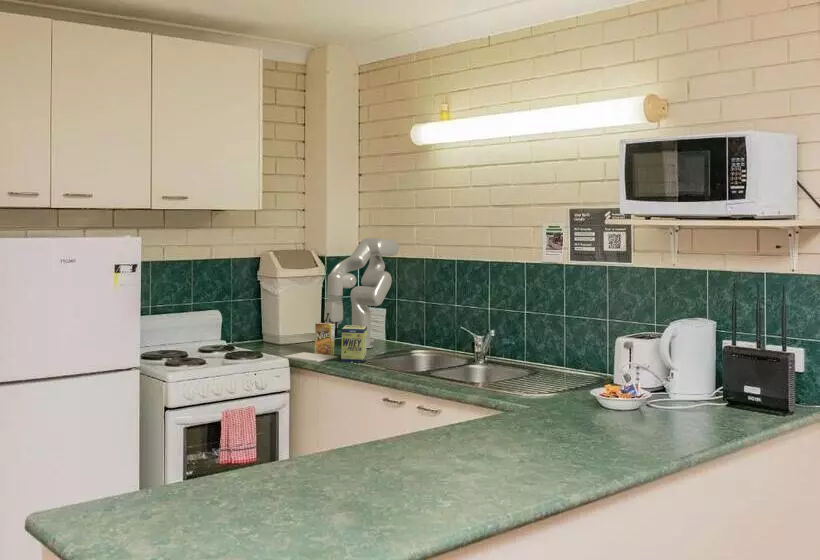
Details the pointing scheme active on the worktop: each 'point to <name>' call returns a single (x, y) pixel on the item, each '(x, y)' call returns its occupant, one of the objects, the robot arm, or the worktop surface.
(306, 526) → the worktop surface
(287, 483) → the worktop surface
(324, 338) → the candy box
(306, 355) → the mat
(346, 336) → the protein box
